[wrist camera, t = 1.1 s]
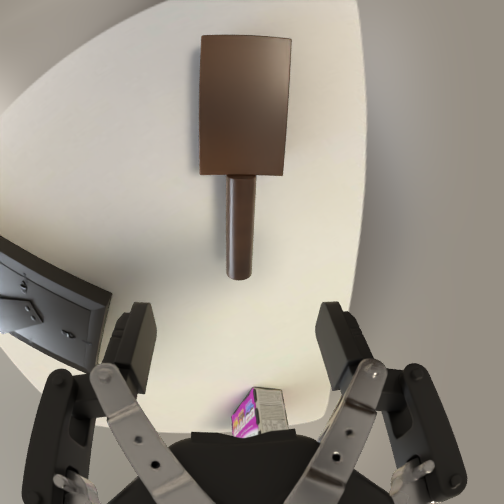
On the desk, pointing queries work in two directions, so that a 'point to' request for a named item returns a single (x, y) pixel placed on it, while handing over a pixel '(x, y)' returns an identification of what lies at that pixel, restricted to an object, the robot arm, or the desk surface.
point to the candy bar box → (260, 413)
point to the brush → (242, 127)
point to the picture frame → (51, 308)
